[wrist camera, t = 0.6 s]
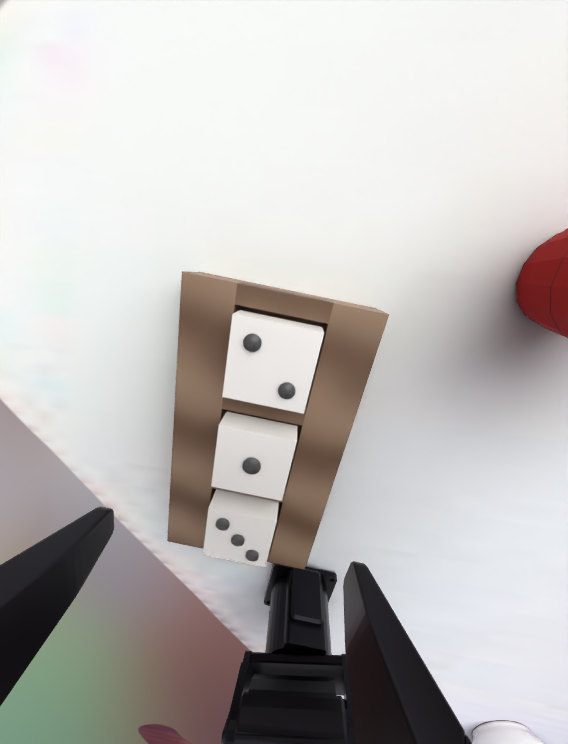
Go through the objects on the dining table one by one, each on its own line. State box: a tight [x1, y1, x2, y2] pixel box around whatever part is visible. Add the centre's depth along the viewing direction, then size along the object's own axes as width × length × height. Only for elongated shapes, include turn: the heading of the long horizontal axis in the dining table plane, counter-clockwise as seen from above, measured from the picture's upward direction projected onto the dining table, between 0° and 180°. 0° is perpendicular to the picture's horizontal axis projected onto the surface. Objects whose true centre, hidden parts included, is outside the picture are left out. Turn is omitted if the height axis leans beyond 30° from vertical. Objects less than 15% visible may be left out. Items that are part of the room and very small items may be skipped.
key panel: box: [168, 272, 389, 569], centre depth 20 cm, size 22×12×3 cm, turn 169°
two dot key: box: [222, 310, 324, 414], centre depth 16 cm, size 5×5×2 cm
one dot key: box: [211, 412, 298, 501], centre depth 18 cm, size 5×5×2 cm
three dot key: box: [203, 489, 279, 568], centre depth 21 cm, size 5×5×2 cm
